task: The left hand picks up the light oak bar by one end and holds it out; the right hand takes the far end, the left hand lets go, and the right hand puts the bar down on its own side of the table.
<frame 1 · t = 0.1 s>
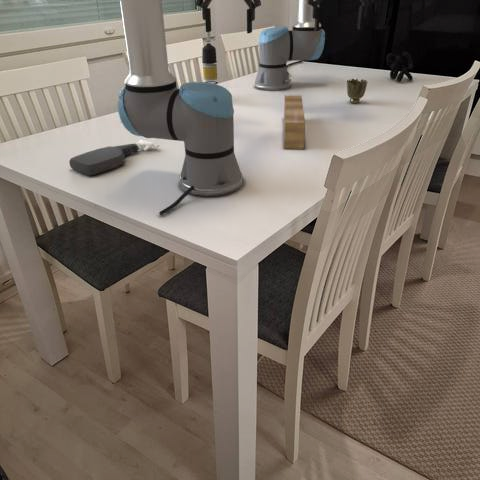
left hand: (228, 32, 139), 28 cm above the table, tool pointing down, fingers open, 13 cm apart
right hand: (338, 30, 139), 28 cm above the table, tool pointing down, fingers open, 13 cm apart
squiggle: (399, 80, 200), on the table
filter: (211, 98, 179), on the table
bar: (292, 132, 142), on the table
bracket: (141, 118, 158), on the table
cup: (354, 103, 170), on the table
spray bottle: (117, 159, 125), on the table
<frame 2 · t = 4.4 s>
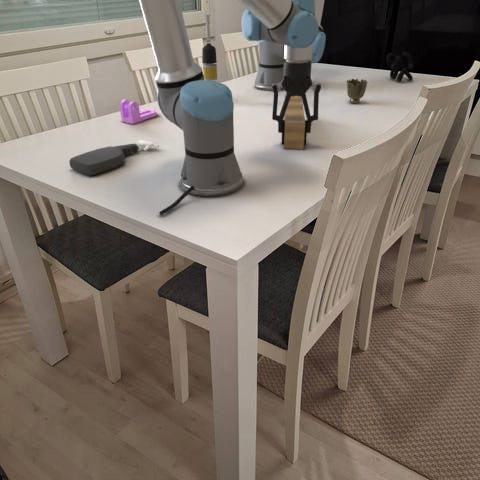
left hand: (293, 143, 132), 1 cm above the table, tool pointing down, fingers closed on bar, 6 cm apart
right hand: (286, 19, 153), 29 cm above the table, tool pointing down, fingers open, 13 cm apart
bar: (292, 132, 142), on the table, touching left hand
everything else where it was.
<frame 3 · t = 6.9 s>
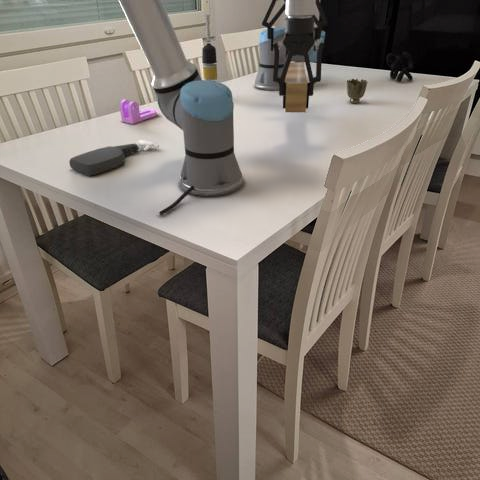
left hand: (295, 107, 127), 11 cm above the table, tool pointing down, fingers closed on bar, 6 cm apart
right hand: (293, 50, 143), 22 cm above the table, tool pointing down, fingers open, 13 cm apart
bar: (294, 98, 137), point 11 cm above the table, touching left hand
everything else where it was.
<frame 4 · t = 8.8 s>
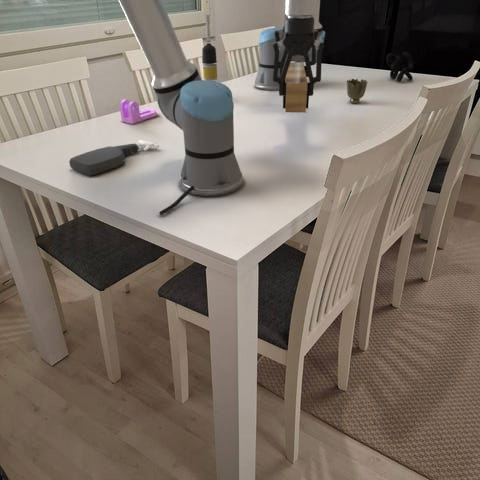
left hand: (295, 107, 127), 11 cm above the table, tool pointing down, fingers closed on bar, 6 cm apart
right hand: (293, 87, 146), 11 cm above the table, tool pointing down, fingers closed on bar, 6 cm apart
bar: (294, 98, 137), point 11 cm above the table, touching left hand, right hand
everything else where it was.
when the left hand's fingers open (11 cm above the table, at t = 9.6 s): bar stays where it is, held by the right hand.
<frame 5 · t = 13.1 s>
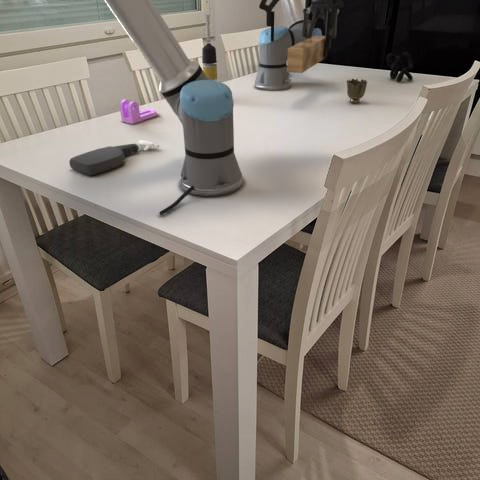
left hand: (299, 40, 112), 29 cm above the table, tool pointing down, fingers open, 13 cm apart
right hand: (317, 56, 177), 14 cm above the table, tool pointing down, fingers closed on bar, 6 cm apart
bar: (307, 64, 169), point 13 cm above the table, touching right hand
everything else where it was.
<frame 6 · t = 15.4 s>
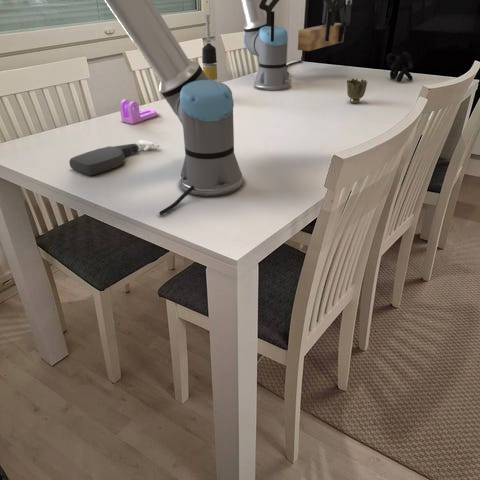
left hand: (299, 40, 112), 29 cm above the table, tool pointing down, fingers open, 13 cm apart
right hand: (334, 41, 208), 14 cm above the table, tool pointing down, fingers closed on bar, 6 cm apart
bar: (321, 45, 201), point 14 cm above the table, touching right hand
everything else where it was.
when the right hand's fingers open (2 cm above the table, at t = 17.2 s): bar drops 2 cm, on the table.
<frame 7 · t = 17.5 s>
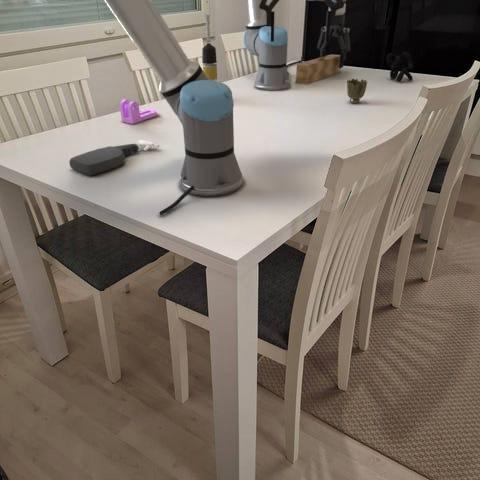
left hand: (299, 40, 112), 29 cm above the table, tool pointing down, fingers open, 13 cm apart
right hand: (331, 66, 214), 3 cm above the table, tool pointing down, fingers open, 9 cm apart
bar: (318, 77, 208), on the table
everything else where it was.
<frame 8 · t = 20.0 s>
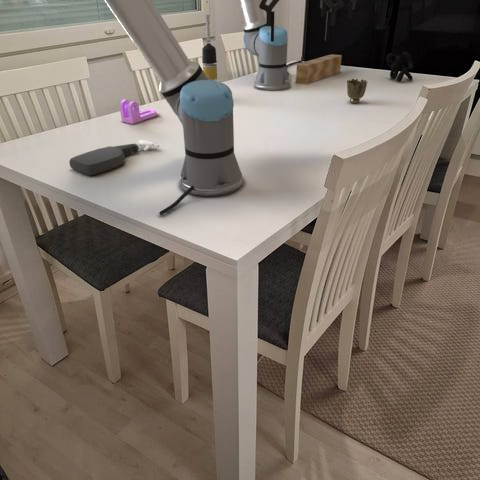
left hand: (299, 40, 112), 29 cm above the table, tool pointing down, fingers open, 13 cm apart
right hand: (336, 17, 203), 24 cm above the table, tool pointing down, fingers open, 13 cm apart
nothing on the table moved.
at the end: bar inside the target area (11.6 cm from its centre), on the table; the left hand is holding nothing; the right hand is holding nothing; bar at rest at the end (0.0 cm/s) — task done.
